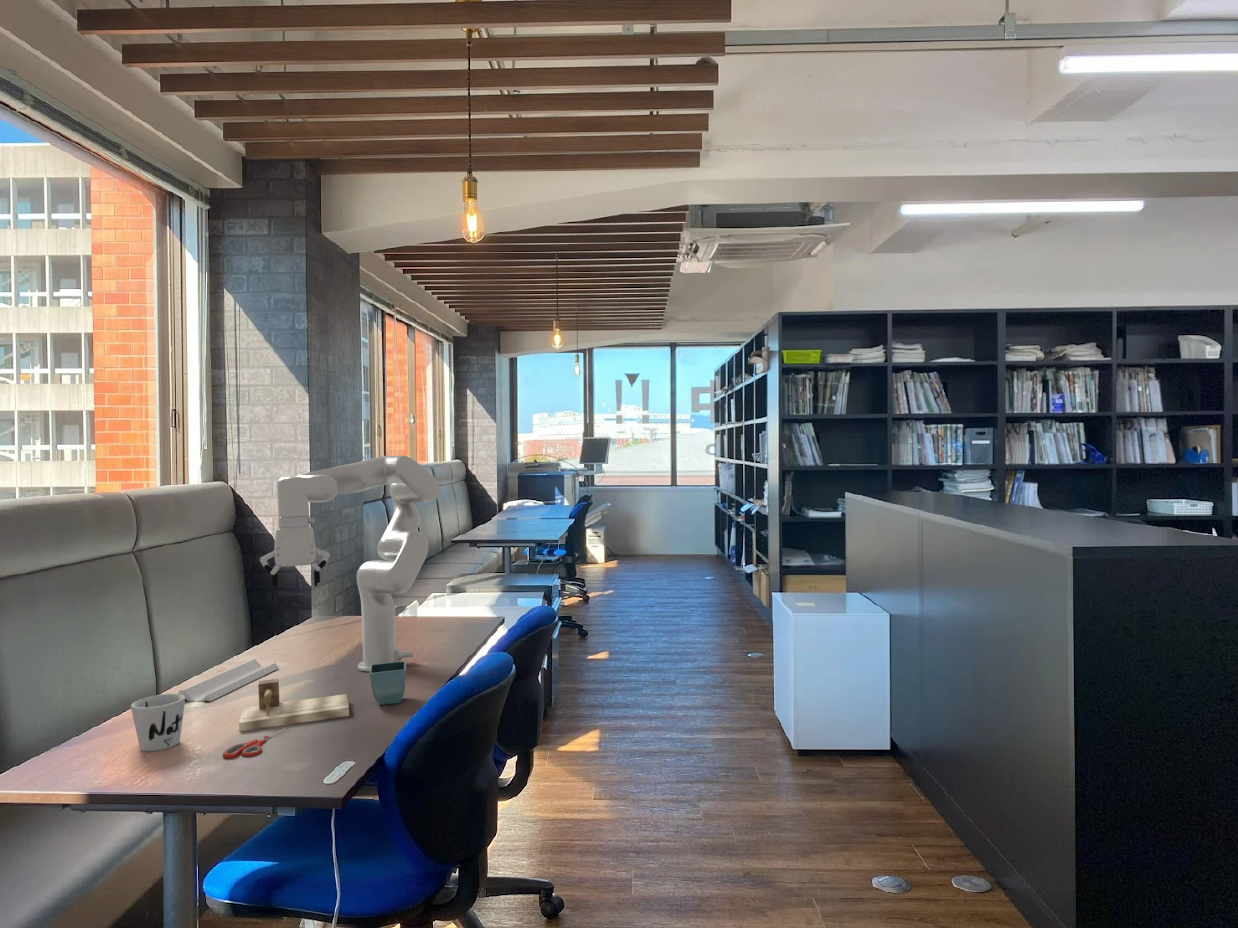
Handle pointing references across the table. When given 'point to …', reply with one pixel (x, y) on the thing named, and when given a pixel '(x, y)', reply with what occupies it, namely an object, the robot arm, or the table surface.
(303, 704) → the maple board
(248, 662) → the crown molding
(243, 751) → the scissors
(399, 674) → the flower pot
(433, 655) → the table surface
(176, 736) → the mug
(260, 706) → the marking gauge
